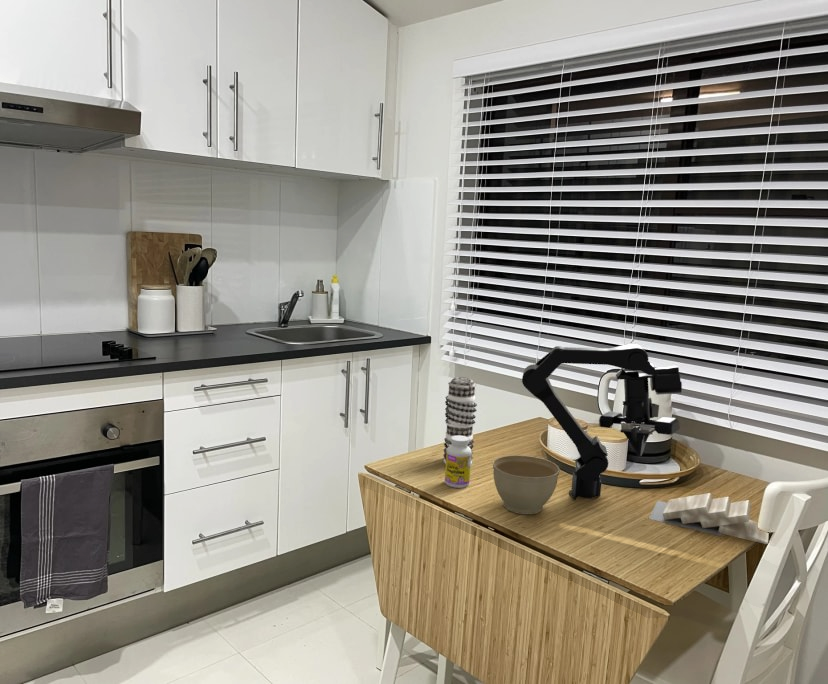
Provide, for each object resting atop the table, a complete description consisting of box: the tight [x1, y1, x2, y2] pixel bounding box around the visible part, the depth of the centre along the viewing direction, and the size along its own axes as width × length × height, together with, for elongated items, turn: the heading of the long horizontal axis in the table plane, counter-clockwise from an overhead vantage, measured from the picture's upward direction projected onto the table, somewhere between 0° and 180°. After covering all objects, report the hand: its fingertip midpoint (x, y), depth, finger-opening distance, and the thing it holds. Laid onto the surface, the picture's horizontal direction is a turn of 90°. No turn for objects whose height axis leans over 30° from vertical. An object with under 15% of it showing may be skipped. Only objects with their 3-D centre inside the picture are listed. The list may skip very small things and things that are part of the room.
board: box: [648, 500, 723, 537], centre depth 158 cm, size 16×13×1 cm
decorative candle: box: [442, 376, 478, 465], centre depth 190 cm, size 9×9×25 cm
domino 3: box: [701, 499, 752, 528], centre depth 154 cm, size 2×10×10 cm
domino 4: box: [718, 518, 770, 545], centre depth 152 cm, size 2×10×10 cm
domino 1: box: [662, 492, 714, 520], centre depth 158 cm, size 2×10×10 cm
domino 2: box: [681, 496, 732, 524], centre depth 156 cm, size 2×10×10 cm
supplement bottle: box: [444, 435, 473, 489], centre depth 174 cm, size 7×7×13 cm
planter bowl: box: [492, 454, 560, 515], centre depth 161 cm, size 16×16×11 cm
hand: (639, 455), depth 166 cm, fingers closed
